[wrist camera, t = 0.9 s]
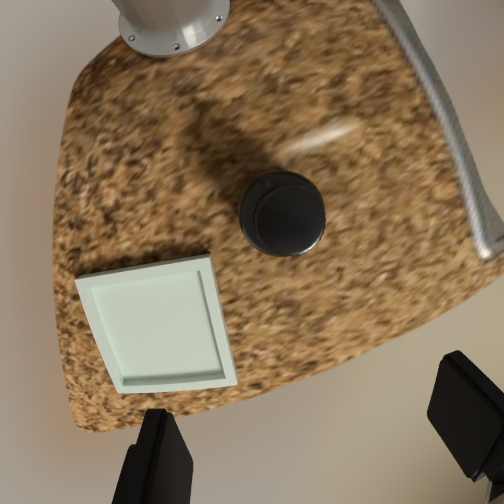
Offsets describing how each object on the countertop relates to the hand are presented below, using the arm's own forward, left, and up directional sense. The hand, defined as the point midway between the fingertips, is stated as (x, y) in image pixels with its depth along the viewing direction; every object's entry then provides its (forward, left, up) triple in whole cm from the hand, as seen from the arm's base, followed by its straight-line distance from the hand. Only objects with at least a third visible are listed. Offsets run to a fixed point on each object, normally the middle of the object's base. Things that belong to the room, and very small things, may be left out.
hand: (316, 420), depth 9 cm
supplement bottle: (-4, +2, -25) cm, 25 cm away
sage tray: (+8, -13, -24) cm, 29 cm away
